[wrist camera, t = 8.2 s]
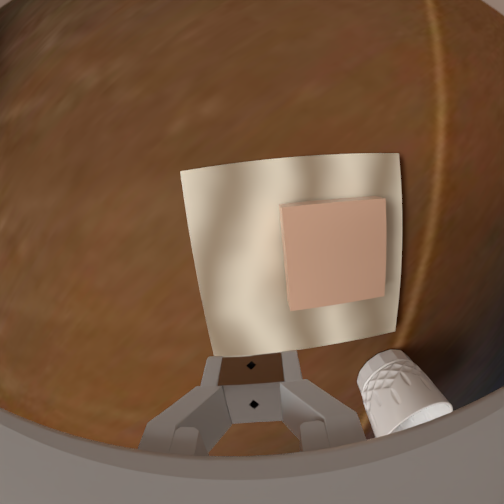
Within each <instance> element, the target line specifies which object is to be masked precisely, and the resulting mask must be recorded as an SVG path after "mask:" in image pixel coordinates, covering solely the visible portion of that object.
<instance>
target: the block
mask: <svg viewBox="0 0 504 504" xmlns="http://www.w3.org/2000/svg"><path fill="white" fill-rule="evenodd" d="M279 214H280V224H281V234H282V244H283V255H284V267H285V278H286V290H287V301H288V304H289V308H290V311H296V310H303V309H310V308H317V307H324V306H330V305H336V304H343V303H349V302H355V301H360V300H366V299H372V298H377V297H382V296H384V295H385V278H386V198H382V197H378V196H366V197H352V198H339V199H328V200H317V201H306V202H296V203H286V204H279Z"/></svg>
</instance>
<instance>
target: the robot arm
mask: <svg viewBox="0 0 504 504" xmlns="http://www.w3.org/2000/svg"><path fill="white" fill-rule="evenodd" d="M267 421H283V423H284V424H285V425H286V426H287V427H288V428H289V429H290V430H291V431H292V432H293V433H294V434H295V435H296V436H297V438H298V439H299V440H300V452H296V453H287V454H275V455H261V456H209V454H208V452H209V451H210V450H211V449H212V448H213V447H214V446H215V444H216V443H217V442H218V441H219V440H220V438H221V437H222V436H223V435H224V434H225V432H226V431H227V430H228V429H229V428H230V426H231V425H232V424H234V423H250V422H267ZM0 504H504V386H503V387H501V388H499V389H498V390H496V391H494V392H492V393H490V394H488V395H487V396H485V397H483V398H481V399H479V400H477V401H475V402H472V403H470V404H468V405H466V406H464V407H462V408H460V409H457V410H455V411H453V412H450V413H448V414H446V415H443V416H441V417H438V418H435V419H433V420H430V421H428V422H425V423H422V424H419V425H416V426H413V427H410V428H407V429H404V430H401V431H398V432H394V433H391V434H388V435H384V436H380V437H377V438H373V439H369V440H366V438H365V435H364V432H363V429H362V427H361V424H360V421H359V418H358V415H357V413H356V412H355V411H353V410H352V409H350V408H349V407H347V406H346V405H344V404H343V403H341V402H340V401H338V400H337V399H335V398H334V397H332V396H331V395H329V394H328V393H326V392H325V391H323V390H322V389H320V388H319V387H317V386H316V385H314V384H313V383H312V382H310V381H309V380H307V379H305V380H303V379H302V374H301V369H300V364H299V360H298V355H297V351H296V350H289V351H282V352H277V353H267V354H257V355H234V356H209V357H208V358H207V361H206V365H205V369H204V373H203V377H202V382H201V386H197V387H195V388H194V389H192V390H191V391H190V392H188V393H187V394H186V395H185V396H183V397H182V398H181V399H179V400H178V401H177V402H175V403H174V404H173V405H171V406H170V407H169V408H167V409H166V410H165V411H163V412H162V413H161V414H159V415H158V416H157V417H155V418H154V419H152V420H151V421H150V422H148V423H147V426H146V428H145V431H144V434H143V436H142V439H141V441H140V444H139V447H138V449H133V448H127V447H122V446H116V445H111V444H107V443H102V442H98V441H94V440H90V439H86V438H82V437H78V436H75V435H71V434H68V433H65V432H62V431H58V430H55V429H52V428H49V427H46V426H44V425H41V424H38V423H35V422H33V421H30V420H28V419H25V418H23V417H20V416H18V415H16V414H13V413H11V412H9V411H6V410H4V409H2V408H0Z"/></svg>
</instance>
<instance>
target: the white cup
mask: <svg viewBox="0 0 504 504" xmlns="http://www.w3.org/2000/svg"><path fill="white" fill-rule="evenodd" d="M357 384H358V387H359V389H360V392H361V394H362V398H363V403H364V406H365V409H366V412H367V415H368V418H369V420H370V423H371V426H372V429H373V432H374V435H375V437H376V438H377V437H380V436H384V435H388V434H391V433H394V432H398V431H401V430H404V429H407V428H410V427H413V426H416V425H419V424H422V423H425V422H428V421H430V420H433V419H435V418H438V417H441V416H443V415H446V414H448V413H450V412H453V407H452V405H451V404H450V402H449V401H448V400H447V399H446V398H445V397H444V395H443V394H442V393H441V392H440V391H439V389H438V388H437V387H436V386H435V385H434V383H433V382H432V381H431V380H430V379H429V378H428V376H427V375H426V374H425V373H424V372H423V371H422V370H421V369H420V368H419V367H418V366H417V365H416V364H415V363H414V362H413V361H412V360H411V359H410V358H409V357H408V356H407V355H406V354H405V353H404V352H403V351H401V350H393V349H390V350H387V351H384V352H381V353H378V354H377V355H375V356H374V357H373V358H371V359H370V360H368V361H367V362H366V364H365V365H364V366H363V368H362V369H361V370H360V372H359V375H358V379H357Z"/></svg>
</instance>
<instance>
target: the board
mask: <svg viewBox="0 0 504 504" xmlns="http://www.w3.org/2000/svg"><path fill="white" fill-rule="evenodd" d="M180 174H181V181H182V188H183V195H184V202H185V209H186V215H187V221H188V228H189V234H190V240H191V245H192V251H193V257H194V262H195V268H196V273H197V278H198V283H199V289H200V294H201V299H202V303H203V308H204V313H205V318H206V322H207V327H208V332H209V336H210V340H211V345H212V349H213V354H214V356H234V355H257V354H267V353H277V352H282V351H289V350H299V349H306V348H313V347H319V346H325V345H331V344H336V343H342V342H347V341H352V340H357V339H362V338H367V337H372V336H376V335H381V334H385V333H389V332H394V331H395V328H396V321H397V312H398V303H399V292H400V279H401V262H402V190H401V173H400V160H399V153H360V154H333V155H315V156H300V157H288V158H277V159H267V160H257V161H249V162H240V163H232V164H225V165H218V166H211V167H204V168H198V169H192V170H186V171H180ZM366 196H378V197H382V198H386V278H385V295H384V296H382V297H377V298H372V299H366V300H360V301H355V302H349V303H343V304H336V305H330V306H324V307H317V308H310V309H303V310H296V311H290V308H289V304H288V301H287V290H286V278H285V267H284V255H283V244H282V234H281V224H280V214H279V204H286V203H296V202H306V201H317V200H328V199H339V198H352V197H366Z"/></svg>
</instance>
